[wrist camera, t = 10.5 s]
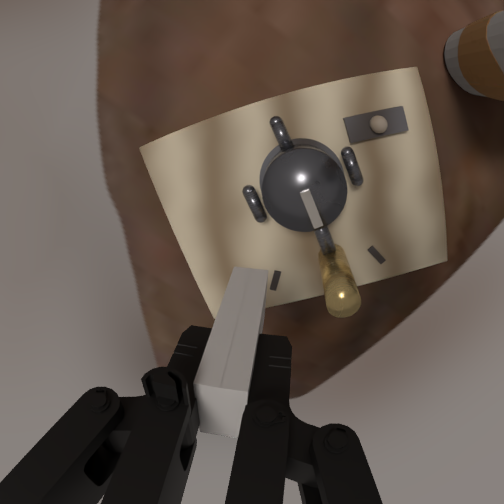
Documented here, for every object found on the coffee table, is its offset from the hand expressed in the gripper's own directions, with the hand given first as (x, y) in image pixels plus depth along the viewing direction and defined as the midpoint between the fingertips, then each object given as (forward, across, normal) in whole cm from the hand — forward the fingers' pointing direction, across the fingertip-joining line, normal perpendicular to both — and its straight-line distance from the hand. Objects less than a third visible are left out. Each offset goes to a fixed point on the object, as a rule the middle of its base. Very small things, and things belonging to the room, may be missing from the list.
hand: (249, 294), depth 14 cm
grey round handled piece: (+13, +3, +1) cm, 13 cm away
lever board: (+15, +3, 0) cm, 16 cm away
